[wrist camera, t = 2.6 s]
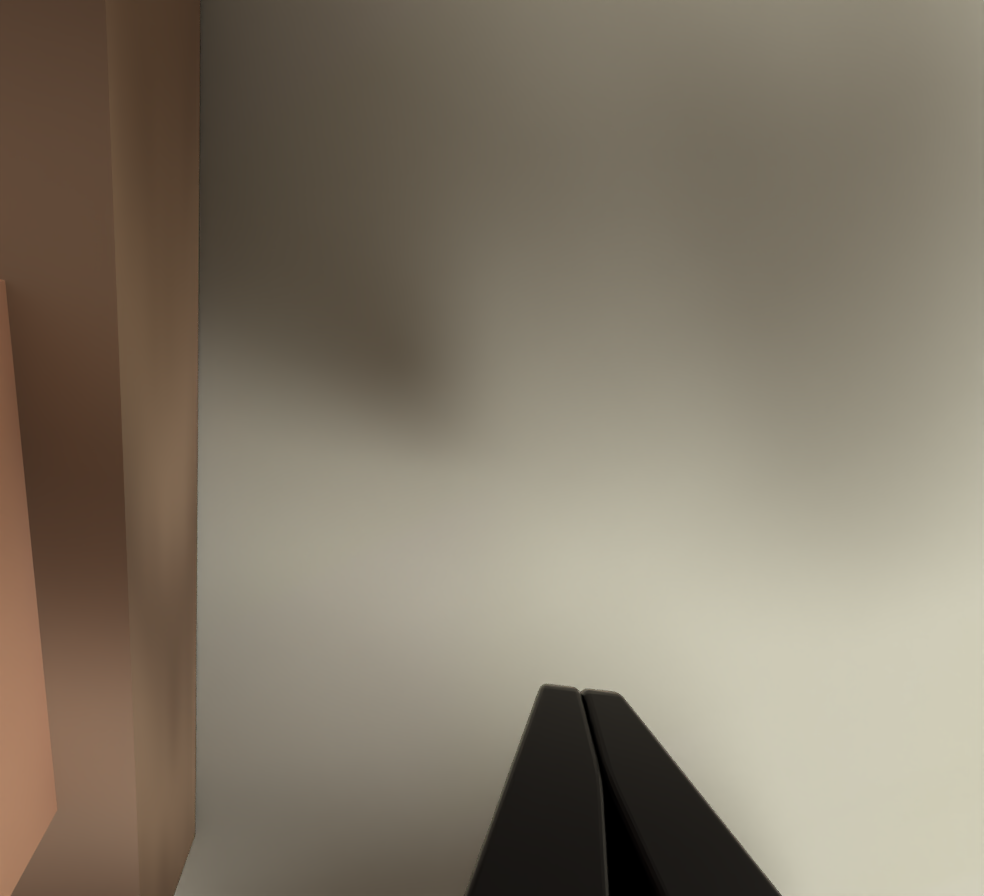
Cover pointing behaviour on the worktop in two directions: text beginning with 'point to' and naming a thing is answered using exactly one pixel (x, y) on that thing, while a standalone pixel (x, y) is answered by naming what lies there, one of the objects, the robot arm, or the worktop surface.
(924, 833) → the worktop surface
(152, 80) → the walnut ledge
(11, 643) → the terracotta tile
